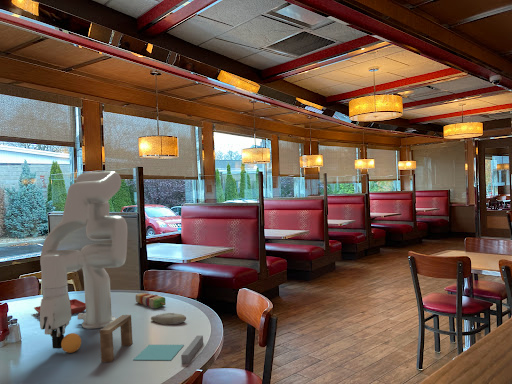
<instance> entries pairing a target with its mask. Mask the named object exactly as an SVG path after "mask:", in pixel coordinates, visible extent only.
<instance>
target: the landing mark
mask: <svg viewBox="0 0 512 384" xmlns="http://www.w3.org/2000/svg"><path fill="white" fill-rule="evenodd" d="M183 347H185V344H148V345H147V346H146V347H145V348H144V349H143V350H141V352H140V353H139V354H137V355H136V357H134V358H133V361H163V362H164V361H172V360H173V359H174V358H175V357H176V355H177V354H178V353H179V352H180V350H181V349H182V348H183Z"/></svg>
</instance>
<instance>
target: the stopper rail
mask: <svg viewBox="0 0 512 384" xmlns="http://www.w3.org/2000/svg"><path fill="white" fill-rule="evenodd" d="M203 344H204V335H196V336H195V337H194V338H193V340H192V341H191V343H189V345H188V346H187V347H186V349H184V351H183V352H182V353H181V356H180V357H181V359H180V360H181V364H184V365H185V364H189V363H190V362H191V361H192V359H193V358H194V356H195V355H196V354H197V352H198V351H199V349H201V347H202V346H203Z"/></svg>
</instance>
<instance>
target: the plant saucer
mask: <svg viewBox="0 0 512 384" xmlns="http://www.w3.org/2000/svg"><path fill="white" fill-rule="evenodd" d="M70 305H71V315H74V314H79V313H83V312H85V311H86V308H85V301H81V300H79V299H77V298H72V299H70ZM40 306H41V305H39V306H36V307H33V309H34V311H36V312H37V313H38V314H39V315H40Z"/></svg>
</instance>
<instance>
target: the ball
mask: <svg viewBox="0 0 512 384" xmlns="http://www.w3.org/2000/svg"><path fill="white" fill-rule="evenodd" d="M81 345H82V338H81V336H80V335H79V334H77V333H75V332H71V333H67V334H66V335H64V338H63V339H62V342H61V346H62V348H61V349H62V350H63V351H64V352H66V353H71V354H72V353H74V352H77V351H78V350H79V349H80V347H81Z"/></svg>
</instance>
